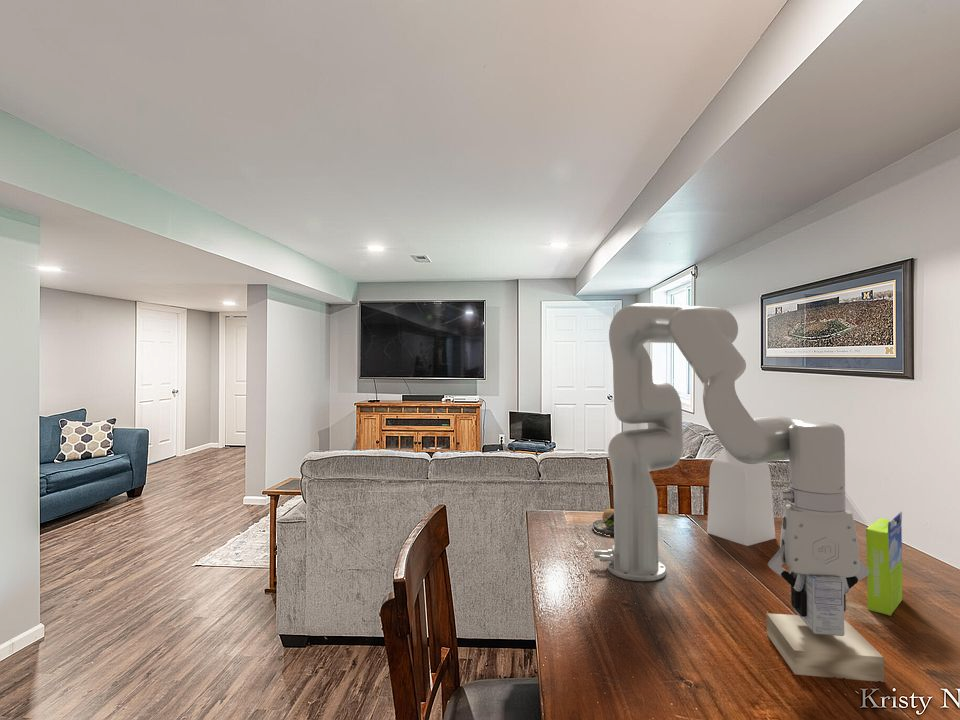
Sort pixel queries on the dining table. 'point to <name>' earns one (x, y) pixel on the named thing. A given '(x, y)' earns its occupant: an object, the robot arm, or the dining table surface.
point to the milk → (740, 501)
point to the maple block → (824, 650)
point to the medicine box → (824, 604)
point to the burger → (605, 523)
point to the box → (884, 564)
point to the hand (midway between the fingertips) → (818, 612)
